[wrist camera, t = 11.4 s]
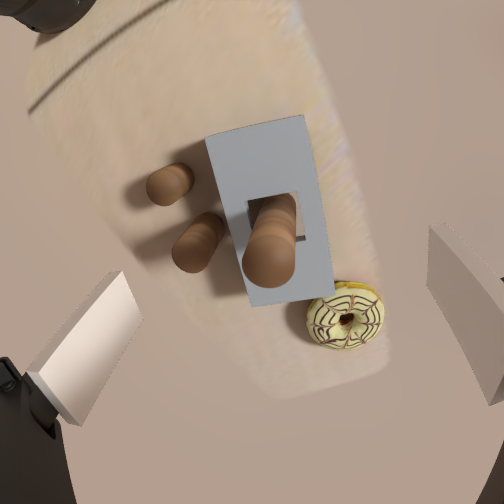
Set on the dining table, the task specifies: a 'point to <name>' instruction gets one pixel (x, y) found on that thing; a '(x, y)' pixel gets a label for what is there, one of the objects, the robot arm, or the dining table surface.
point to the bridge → (268, 184)
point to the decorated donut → (345, 301)
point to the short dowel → (169, 184)
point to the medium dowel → (198, 243)
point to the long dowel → (272, 243)
